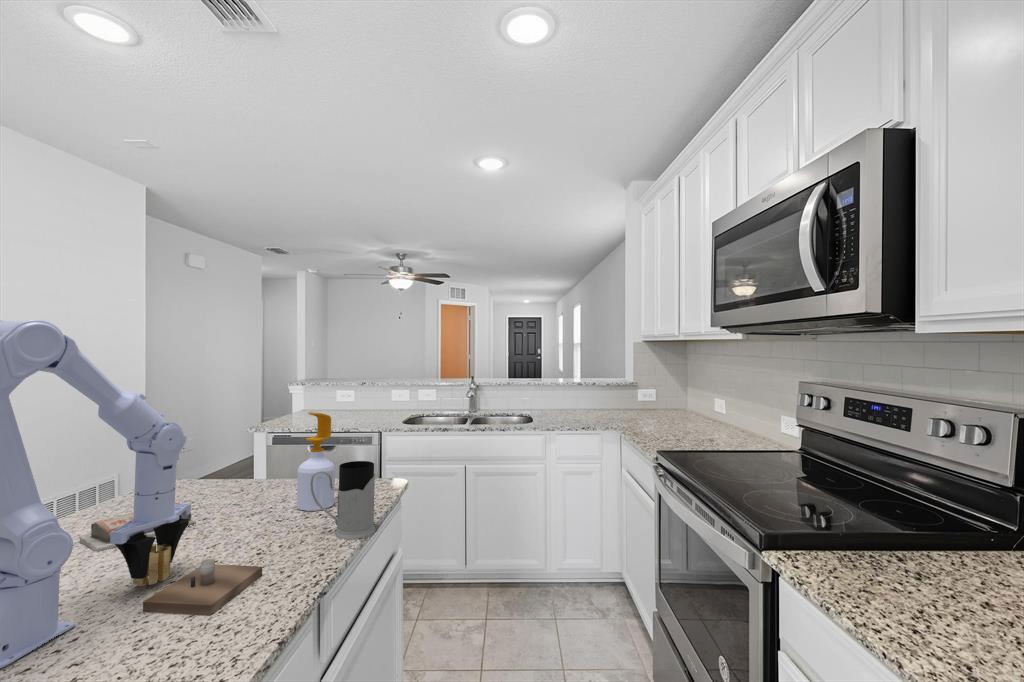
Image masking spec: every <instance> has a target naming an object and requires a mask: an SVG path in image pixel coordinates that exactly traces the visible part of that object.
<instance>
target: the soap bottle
mask: <svg viewBox="0 0 1024 682" xmlns="http://www.w3.org/2000/svg"><path fill="white" fill-rule="evenodd" d="M308 415H311V416H313V417H316V418H317V432H316V435H315V436H310V437H307V438H306V439H305V440H306V442H307V441H308V442H309V441H310V442H311V444H313V448H310V450H309V458H307V460H305V461H303V462H302V463H301V464H300V465H299V466H298V469H297V477H296V478H297V479H296V480H297V481H296V482H297V483H296V486H297V487H296V488H297V489H296V508H297V509H298V510H299V509H300V511H302V510H306V511H305V512H314V511H313V510H319V511H323V510H322V509H321V508H320V507H319V506H318V505H317V504H316V502H315V500H314V498H313V496H312V492H311V478H312V476H313V475H314V474H315V473H316V472H319V471H326V472H327V473H329V474H330V476H331V478H332V487H333V488H335V486H336V485H335V483H336V481H335V480H336V479H335V478H336V477H335V476H336V468H335V467H336V466H335V464H334V462H333V461H331V460H330V459H328V458H326V457H325V456H324V454H325V453H324V452H325V449H324V448H323V447H321V446H322V445H321V444H324V443H323V442H324V441H325V440H329V439H330V438H331V436H332V417H331V416H330V415H329V414H326V413H322V412H308ZM313 491H314V495H315V497H316V499H317V501H318V502H319V503H320V504H321V506H323V507H324V508H325V509H326V508H327V509H329V508H331V507H333V505H334V504H335V490H332V489H331V488H330V479H329V477H328V476H327V475H326V474H325V473H318V474H316V475H315V476H314V478H313ZM327 509H326V510H327Z"/></svg>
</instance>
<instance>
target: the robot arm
mask: <svg viewBox="0 0 1024 682" xmlns="http://www.w3.org/2000/svg"><path fill="white" fill-rule="evenodd" d="M38 372H46V373H51V374H54V375H55V376H57V377H58V378H60V379H61V380H63V381H64V382H66V383H67V384H68V385H69V386H71V387H72V388H74V389H76V390H77V391H78V392H79V393H81V394H82V395H84V396H85V397H87V398H88V399H89V400H90V401H92V402H93V403H95V404H96V405H97V406H98V411H97V416H98V418H99V419H101V421H103V422H104V423H106V424H107V425H109V426H110V427H111V428H112V429H113V430H114V431H116V432H117V434H118V433H119V434H120V435H121V436H122V437H123V438H125V440H126V446H127V447H128V450H130V451H133V452H135V465H134V466H135V468H134V471H135V472H134V491H133V492H134V493H133V512H132V513H133V519H131V520H130V521H128V522H127V523H125V524H124V525H122V526H121V527H119V528H118V529H116V530H113V531H111V534H110V544H115V545H116V546H117V547H116V548H117V549H118V550H119V552H120V553H121V555H122V556H123V559H124V560H125V563H126V565H127V568H128V572H129V575H130V579H132V580H133V579H143V578H145V577H146V574H147V570H148V561H149V555H150V551H151V548H152V545H153V544H155V541H156V546H157V545H159V544H161V543H168V545H170V544H171V564H172V563H173V560H174V557H175V554H176V551H177V548H178V545H179V542H180V540H181V537H182V536H183V534H184V532H185V530H186V529H187V528H188V527H187V526H188V524H189V519H181V517H182V516H183V515H189V514H192V509H191V508H192V504H191V503H189V502H188V503H184V502H181V504H178V505H175V503H176V487H177V485H176V483H177V463H178V461H179V460H180V459H179V458H180V453H181V451H182V449H183V448H184V446H185V444H186V440H187V435H184V432H183V429H182V428H181V426H180V425H179V424H177V423H175V422H171V421H170V422H168V421H166V419H165V414H164V413H162V412H157V411H156V410H155V409H154V408H153V407H152V406H151V405H150V404H148V403H147V402H146V401H145V400H146V399H147V396H145V395H144V394H143V393H140V392H135V391H132V390H124V391H121V390H120V388H118V387H117V385H115V384H114V383H113V382H112V381H111V380H110V379H109V378H108V377H107V376H106V375H105V374H104V373H103V372H102V371H101V370H100V369H99V368H98V367H97V366H96V365H95V364H94V363H93V362H92V361H91V360H90V359H89V358H88V357H87V356H86V355H85V354H84V353H83V352H82V351H81V350H80V349H79V347H78V345H77V343H76V342H75V340H74V339H73V338H71V337H70V336H68V335H66V334H63V332H62V330H61V329H60V328H59V327H58V326H57V325H55V324H53V323H51V322H49V321H46V320H41V319H30V320H17V321H15V320H13V321H12V320H10V321H9V320H8V321H7V320H5V321H4V320H0V669H1V668H4V667H7V666H8V665H10V664H12V663H13V662H15V661H17V660H19V659H20V658H22V657H23V656H25V655H27V654H29V653H30V652H32V650H33V651H34V650H36V649H38V648H39V647H41V646H43V645H45V644H47V643H48V642H50V641H52V640H53V639H55V638H57V637H59V636H60V635H62V634H64V633H65V632H67V631H68V630H71V629H73V628H75V626H76V622H75V621H73V622H72V621H60V620H58V619H59V601H60V573H61V572H62V571H61V570H62V567H63V566H64V565H65V564H66V563H67V562H68V560H69V558H70V557H71V555H72V553H73V550H74V540H73V537H72V535H71V534H70V533H69V532H68V531H66V530H65V529H63V528H62V527H61V526H60V523H59V521H58V518H57V516H56V515H55V514H54V513H53V512H51V510H49V509H48V508H47V507H46V506H45V504H44V503H42V501H41V497H40V495H39V491H38V488H37V484H36V481H35V478H34V475H33V471H32V468H31V466H30V462H29V461H30V460H29V458H28V455H27V452H26V448H25V445H24V441H23V439H22V436H21V432H20V429H19V426H18V423H17V418H16V416H15V413H14V409H13V407H12V403H11V400H10V394H12V392H13V391H14V390H16V388H17V387H18V386H19V385H20V384H21V383H23V381H24V380H25V379H27V378H29V377H31V376H32V375H34V374H36V373H38ZM151 529H154V532H155V537H147V535H144V532H146V531H149V530H151ZM58 635H59V636H58ZM56 636H57V637H56ZM54 637H55V638H54ZM51 639H52V640H51ZM49 640H50V641H49ZM44 643H45V644H44ZM42 644H43V645H42ZM37 647H38V648H37Z"/></svg>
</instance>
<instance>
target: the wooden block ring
mask: <svg viewBox="0 0 1024 682" xmlns="http://www.w3.org/2000/svg"><path fill="white" fill-rule="evenodd" d="M171 564H172V563H171V544H170V545H168V543H161V544H159V545H157V543H153V545H152V548H151V551H150V555H149V561H148V570H147V574H146V577H145V578H143V579H133V578H132V584H133V585H135V584H136V586H140V587H141V586H144V585H146V584H148V585H149V586H150V585H154V584H157V583H158V581H165V580H166V579H167V580H168V578H169V576H171Z"/></svg>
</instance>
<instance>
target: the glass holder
mask: <svg viewBox="0 0 1024 682" xmlns="http://www.w3.org/2000/svg"><path fill="white" fill-rule="evenodd" d="M338 467H339V468H338V469H339V471H338V487H337V488H335V487H334V488H333V487H332V478H331V476H330V474H329V473H327V472H326V471H319V472H316V473H315V474H314V475H313V476H312V478H311V492H312V496H313V498H314V500H315V502H316V504H317V505H318V506H319V507H320V508H321V509H322V510H321V511H323V512H324V513H326V514H327V515H329V516H330V517H331V518H332V519H333V520H334V521H335V525H336V530H335V532H334V536H335V537H336V538H338V539H342V540H360V539H365V538H367V537H370V536H372V535H374V534H375V532H376V530H377V529H376V527H375V521H374V520H375V487H376V486H375V485H376V484H375V482H376V481H375V478H376V477H375V476H376V475H375V474H376V473H375V462H372V461H369V460H368V461H367V460H355V461H347V462H343V463H340V464H339V466H338ZM318 473H325V474H326V475H327V476H328V477H329V479H330V488H331V489H332V490H334V492H335V491H337V514H336V515H337V517H336V516H335V515H334V514H332V513H331V512H330V511H329V510H327V509H325V508H324V507H323V506H321V504H320V503H319V502H318V501H317V499H316V497H315V495H314V491H313V478H314V476H315V475H316V474H318Z"/></svg>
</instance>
